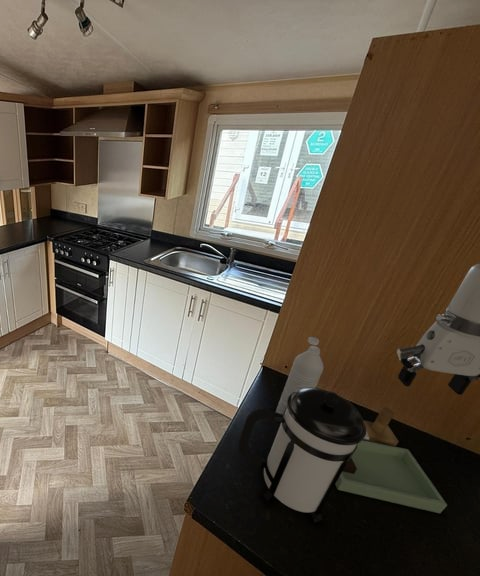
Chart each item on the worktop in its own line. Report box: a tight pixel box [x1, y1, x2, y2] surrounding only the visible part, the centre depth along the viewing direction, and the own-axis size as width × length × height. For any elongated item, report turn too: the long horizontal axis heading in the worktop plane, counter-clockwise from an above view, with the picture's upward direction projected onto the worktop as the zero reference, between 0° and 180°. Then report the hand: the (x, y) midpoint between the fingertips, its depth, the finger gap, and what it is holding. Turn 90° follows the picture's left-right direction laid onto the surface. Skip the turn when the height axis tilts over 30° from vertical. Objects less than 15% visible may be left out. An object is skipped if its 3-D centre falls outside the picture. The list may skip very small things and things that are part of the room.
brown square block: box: [343, 458, 357, 474], centre depth 77 cm, size 4×4×2 cm
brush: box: [363, 407, 399, 447], centre depth 82 cm, size 7×5×10 cm
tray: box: [334, 440, 448, 514], centre depth 75 cm, size 20×14×3 cm
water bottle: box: [275, 336, 325, 417], centre depth 86 cm, size 9×6×25 cm
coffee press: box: [238, 387, 370, 525], centre depth 65 cm, size 17×16×30 cm
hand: (428, 386), depth 71 cm, fingers open, 9 cm apart
